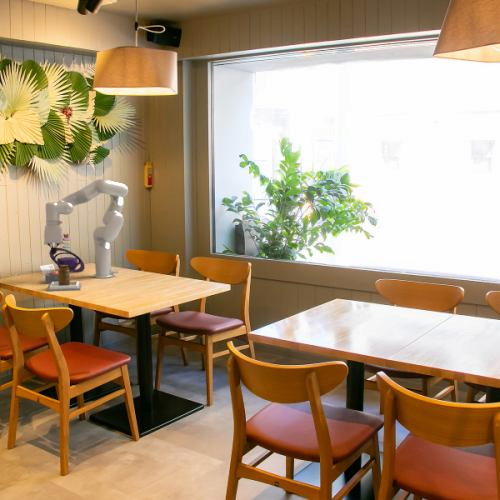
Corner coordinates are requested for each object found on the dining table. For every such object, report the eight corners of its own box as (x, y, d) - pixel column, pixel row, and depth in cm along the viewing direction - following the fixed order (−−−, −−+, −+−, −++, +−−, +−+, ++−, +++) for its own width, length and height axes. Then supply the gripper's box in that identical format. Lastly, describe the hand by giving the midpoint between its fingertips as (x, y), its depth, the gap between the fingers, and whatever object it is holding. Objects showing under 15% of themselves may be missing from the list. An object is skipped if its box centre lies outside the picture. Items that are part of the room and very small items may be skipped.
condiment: (67, 284, 360) (67, 264, 358) (73, 286, 353) (73, 266, 351) (55, 286, 355) (54, 265, 353) (61, 288, 348) (60, 267, 347)
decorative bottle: (68, 275, 395) (66, 236, 391) (43, 272, 403) (41, 234, 400) (91, 270, 415) (90, 233, 411) (66, 267, 423) (65, 231, 420)
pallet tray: (81, 284, 364) (81, 280, 364) (80, 290, 349) (80, 285, 349) (49, 285, 361) (49, 281, 360) (46, 291, 345) (46, 286, 345)
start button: (59, 275, 374) (59, 270, 374) (58, 277, 369) (58, 272, 369) (50, 275, 373) (50, 270, 373) (50, 277, 368) (49, 272, 368)
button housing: (64, 280, 378) (64, 272, 377) (63, 283, 368) (62, 275, 367) (47, 280, 376) (46, 272, 375) (45, 284, 366) (45, 275, 365)
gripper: (66, 222, 372) (67, 252, 375) (40, 223, 369) (41, 253, 371) (65, 223, 365) (66, 254, 367) (38, 224, 362) (40, 255, 364)
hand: (53, 254), depth 369 cm, fingers closed
